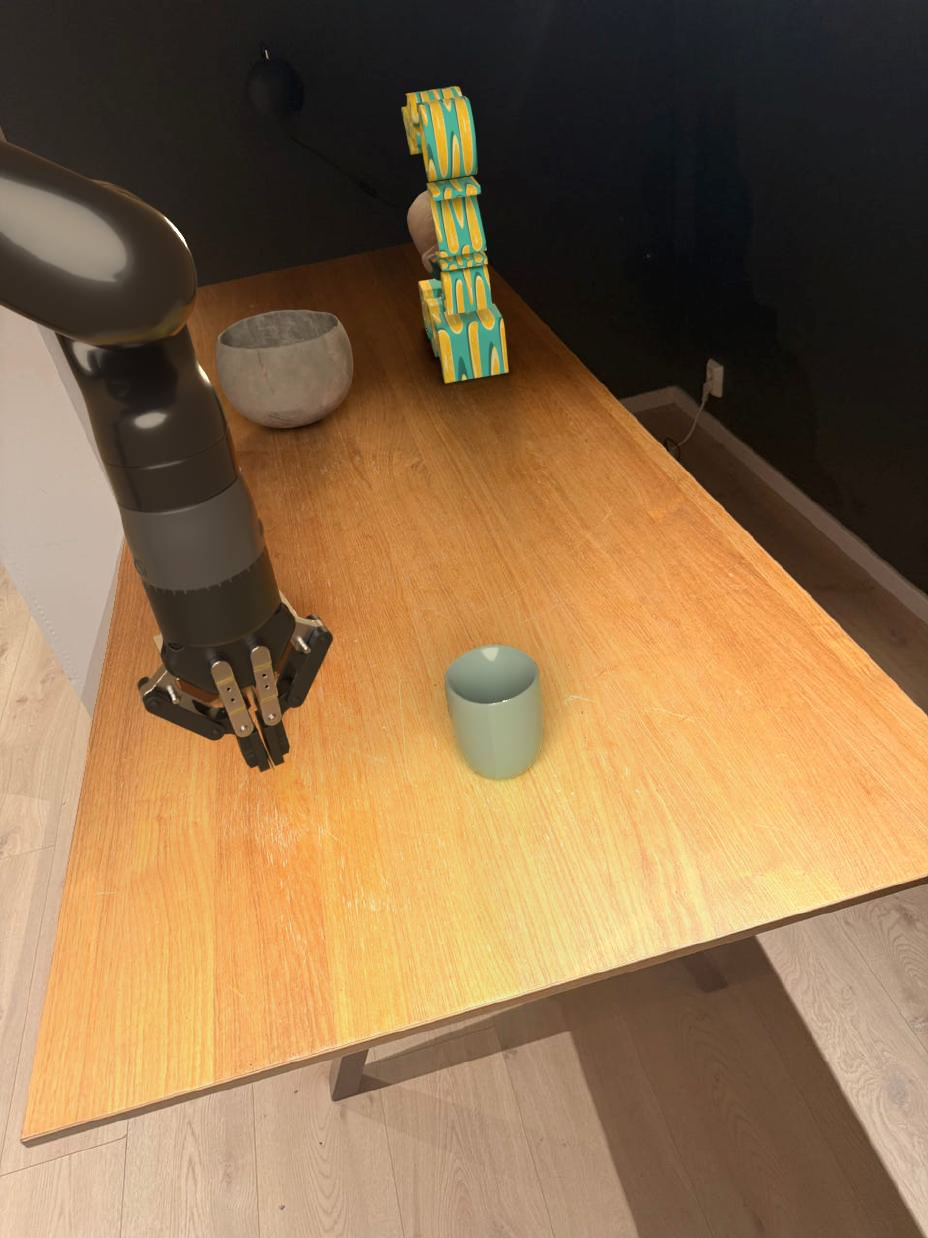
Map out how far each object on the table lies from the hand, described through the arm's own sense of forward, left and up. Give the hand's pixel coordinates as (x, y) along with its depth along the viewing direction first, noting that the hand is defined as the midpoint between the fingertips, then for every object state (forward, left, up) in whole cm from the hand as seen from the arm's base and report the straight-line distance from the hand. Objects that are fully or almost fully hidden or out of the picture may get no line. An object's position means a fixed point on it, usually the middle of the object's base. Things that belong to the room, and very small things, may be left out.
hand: (268, 760), depth 66 cm
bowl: (+31, +88, -15) cm, 94 cm away
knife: (0, +6, 0) cm, 6 cm away
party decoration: (+64, +97, -15) cm, 117 cm away
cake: (+1, +32, -14) cm, 35 cm away
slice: (+9, +32, -14) cm, 36 cm away
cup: (+20, +4, -15) cm, 25 cm away
